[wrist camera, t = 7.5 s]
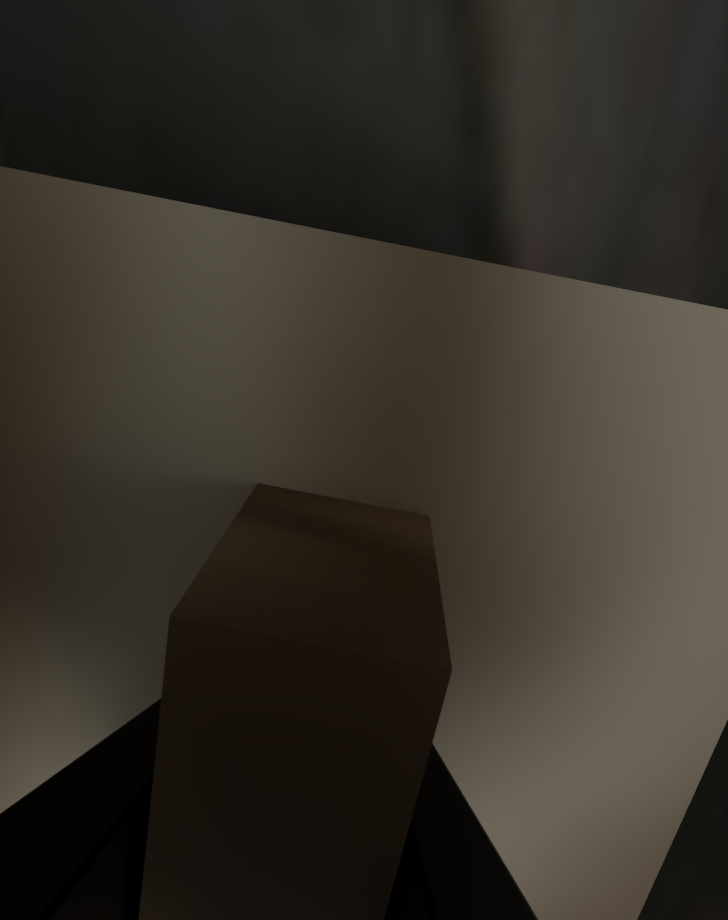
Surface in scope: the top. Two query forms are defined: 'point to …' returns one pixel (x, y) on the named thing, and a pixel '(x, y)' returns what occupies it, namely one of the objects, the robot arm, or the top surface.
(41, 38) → the top surface
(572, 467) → the birch lid
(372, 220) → the top surface
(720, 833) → the top surface
